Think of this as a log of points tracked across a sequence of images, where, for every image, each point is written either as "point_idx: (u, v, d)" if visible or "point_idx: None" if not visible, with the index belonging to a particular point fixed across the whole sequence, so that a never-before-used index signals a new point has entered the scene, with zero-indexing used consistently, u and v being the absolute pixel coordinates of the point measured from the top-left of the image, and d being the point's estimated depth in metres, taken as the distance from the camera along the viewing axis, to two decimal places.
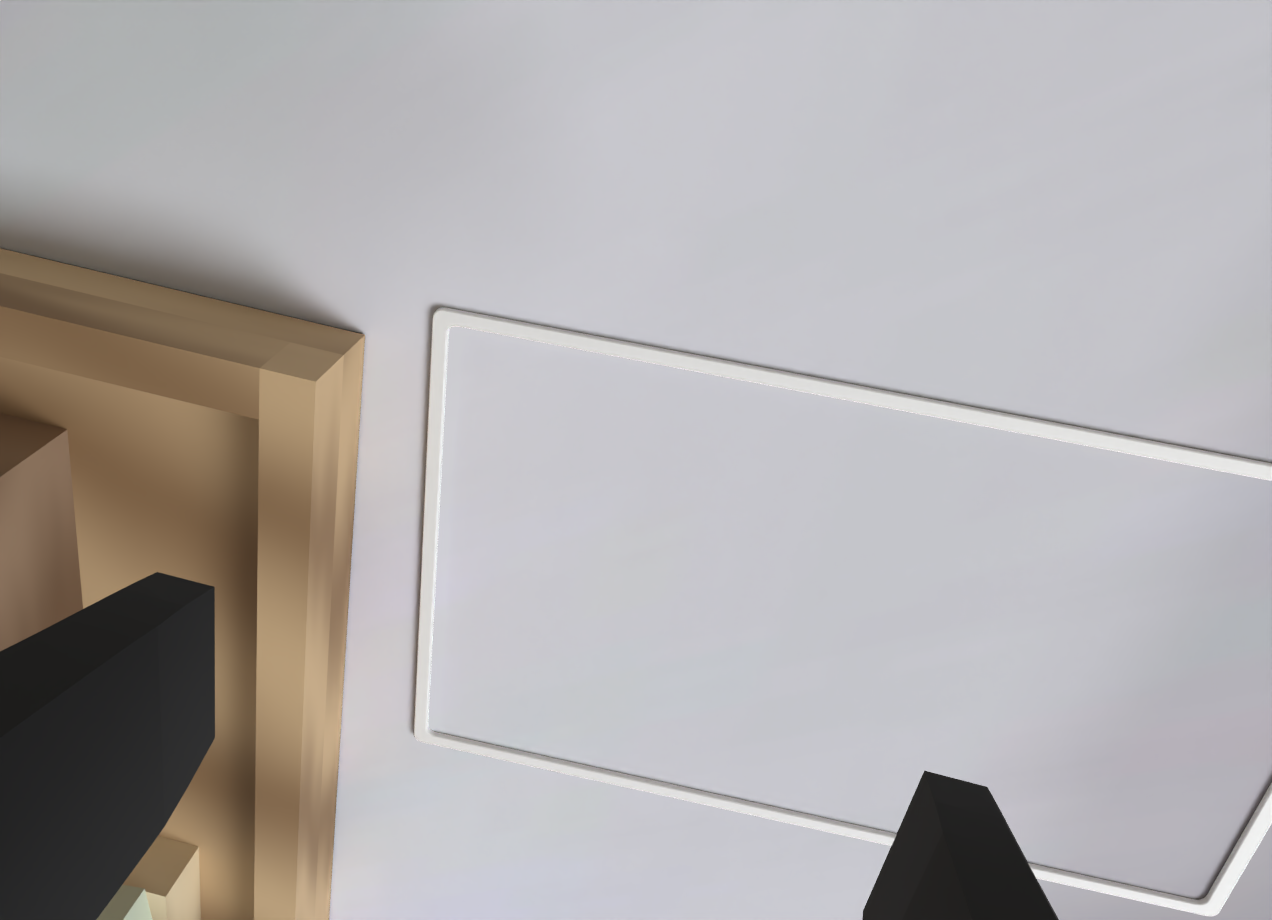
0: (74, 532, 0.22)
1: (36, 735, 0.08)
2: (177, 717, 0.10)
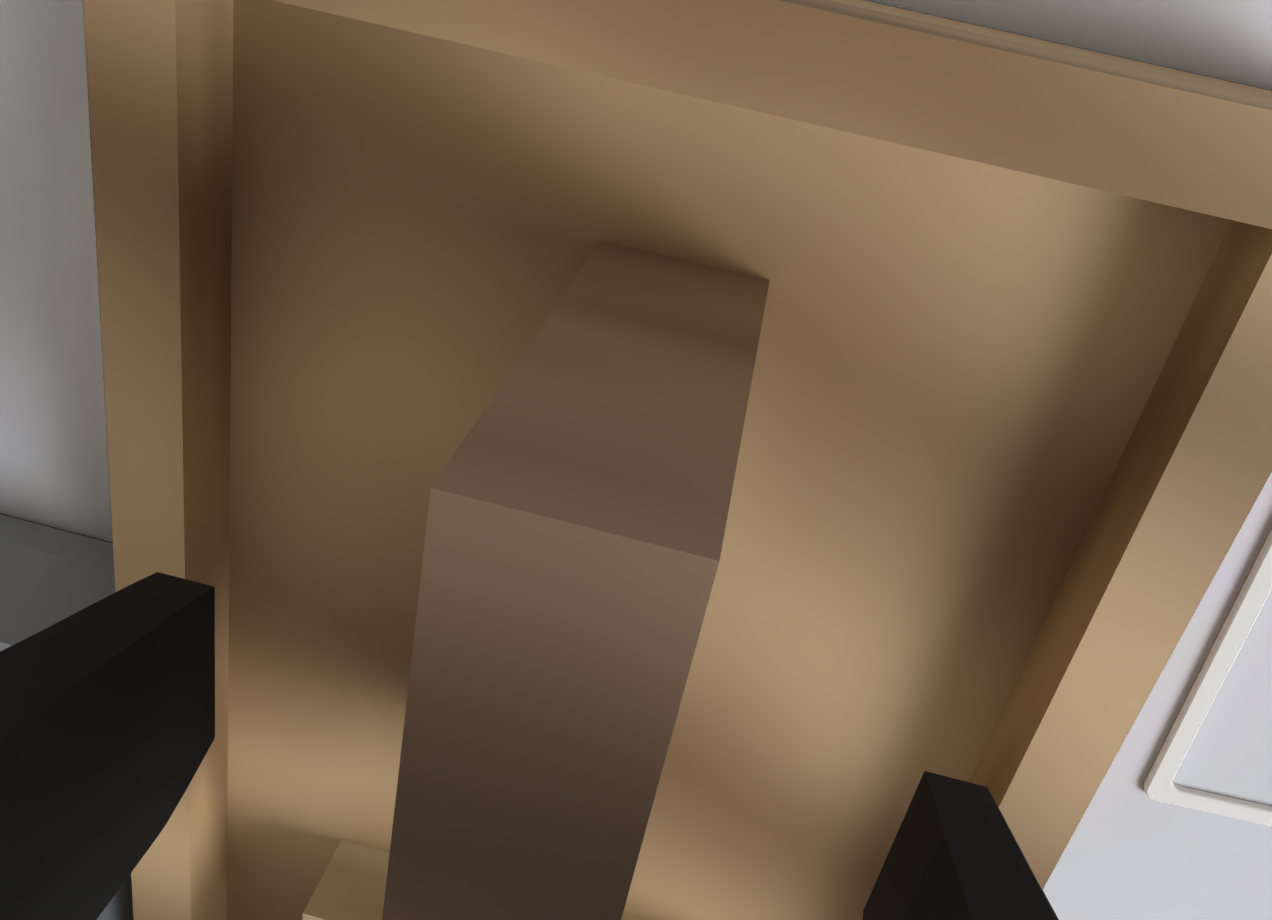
0: None
1: (38, 735, 0.08)
2: (177, 717, 0.10)
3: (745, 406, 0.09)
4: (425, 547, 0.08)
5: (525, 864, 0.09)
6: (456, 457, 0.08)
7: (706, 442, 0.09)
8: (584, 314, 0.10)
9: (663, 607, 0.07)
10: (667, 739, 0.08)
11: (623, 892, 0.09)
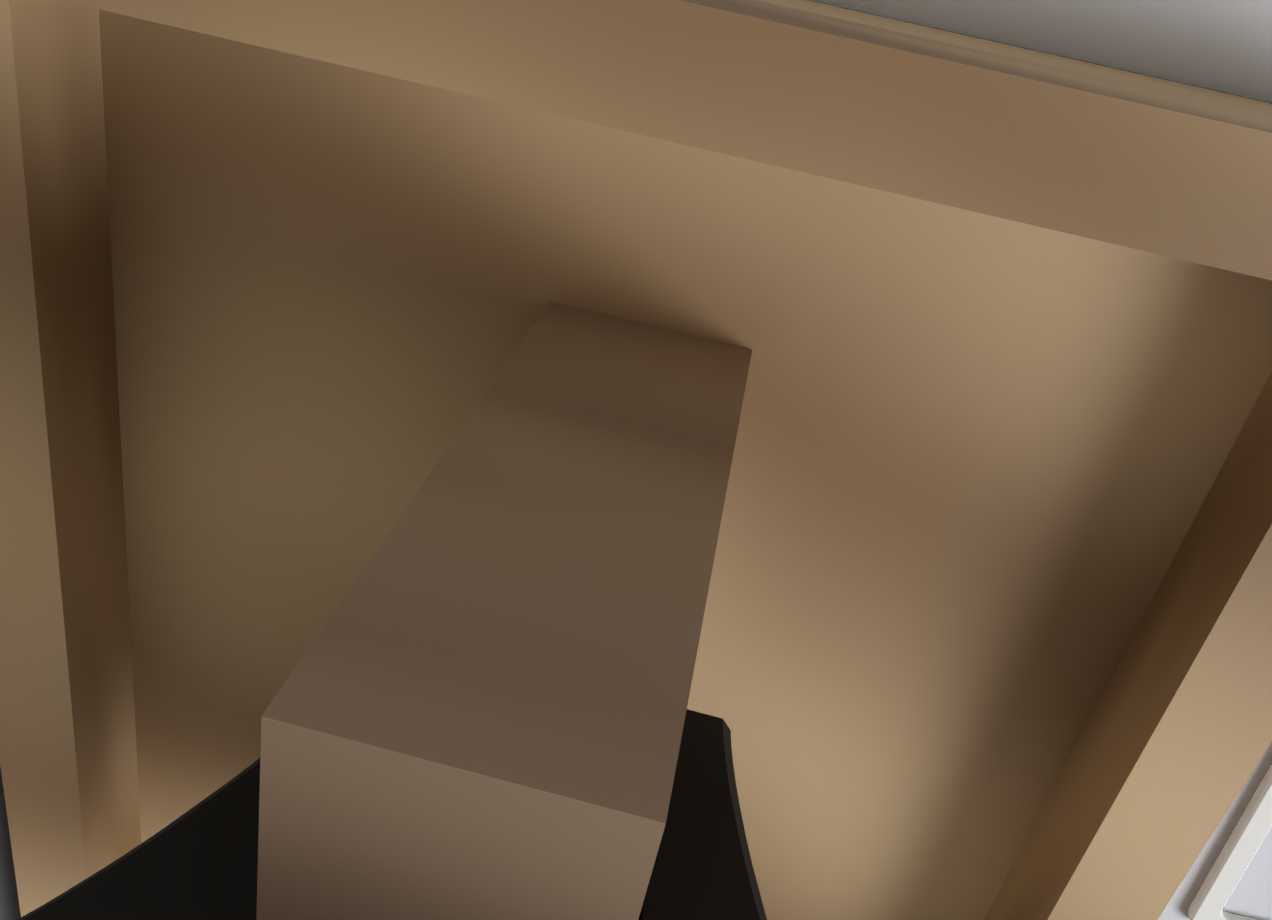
0: None
1: None
2: None
3: (714, 543, 0.07)
4: (263, 787, 0.05)
5: None
6: (309, 656, 0.06)
7: (659, 607, 0.07)
8: (515, 410, 0.08)
9: (591, 875, 0.05)
10: None
11: None
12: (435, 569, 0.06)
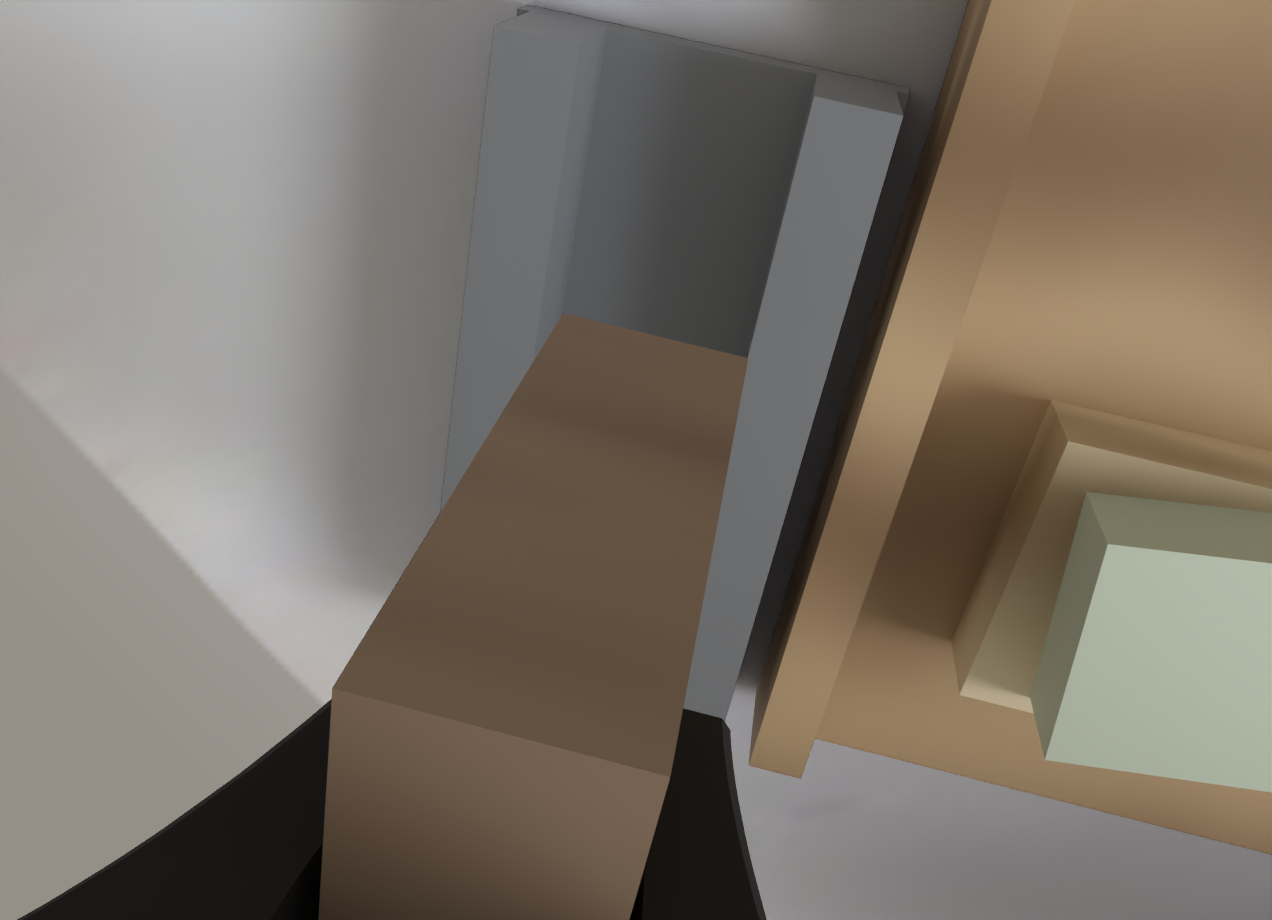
0: None
1: None
2: None
3: (712, 539, 0.08)
4: (331, 748, 0.07)
5: None
6: (368, 637, 0.07)
7: (664, 594, 0.08)
8: (535, 419, 0.09)
9: (607, 821, 0.06)
10: None
11: None
12: (470, 563, 0.07)
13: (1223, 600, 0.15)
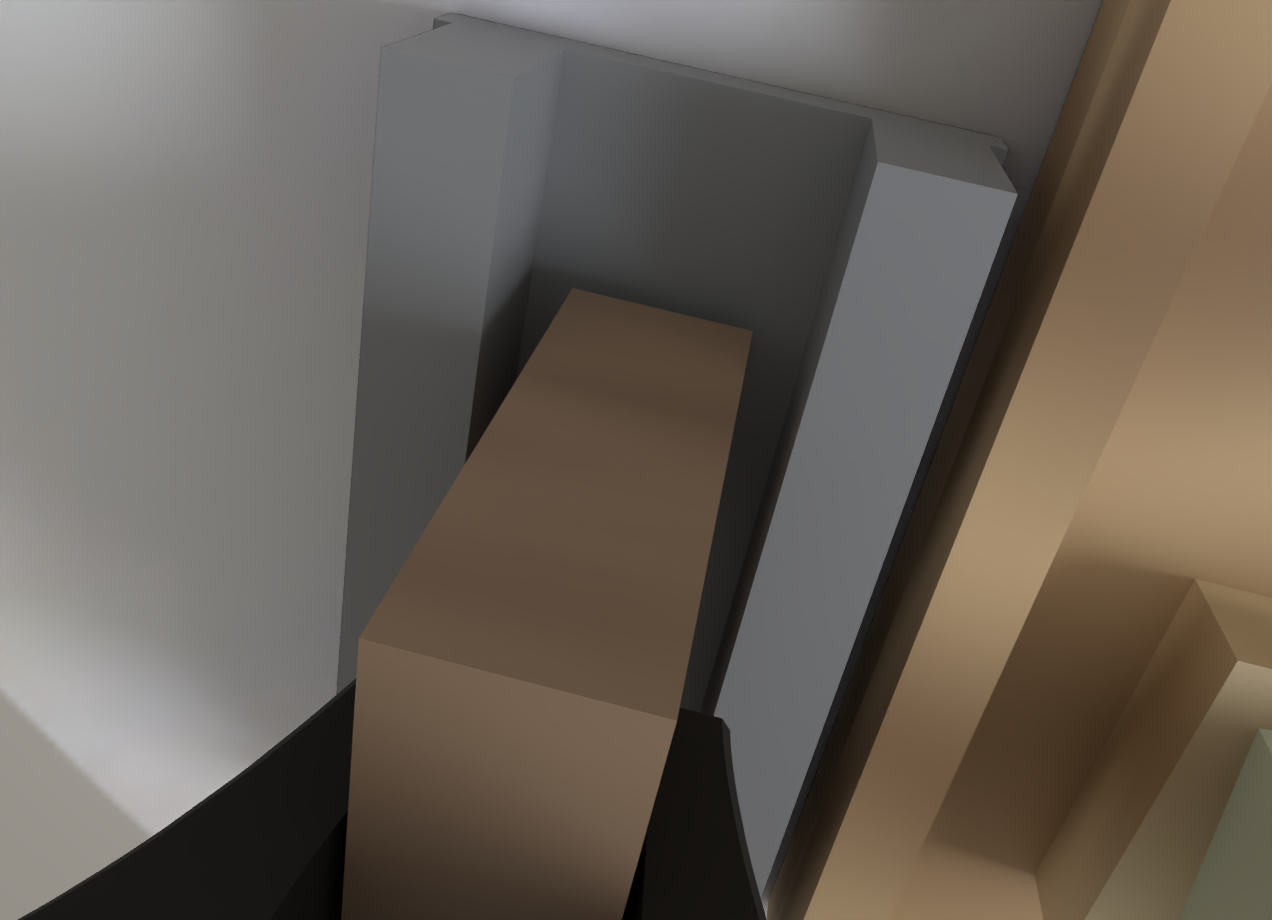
0: None
1: None
2: None
3: (717, 502, 0.09)
4: (357, 695, 0.07)
5: None
6: (390, 592, 0.07)
7: (672, 554, 0.08)
8: (546, 389, 0.10)
9: (618, 764, 0.07)
10: (626, 890, 0.07)
11: None
12: (487, 524, 0.08)
13: None
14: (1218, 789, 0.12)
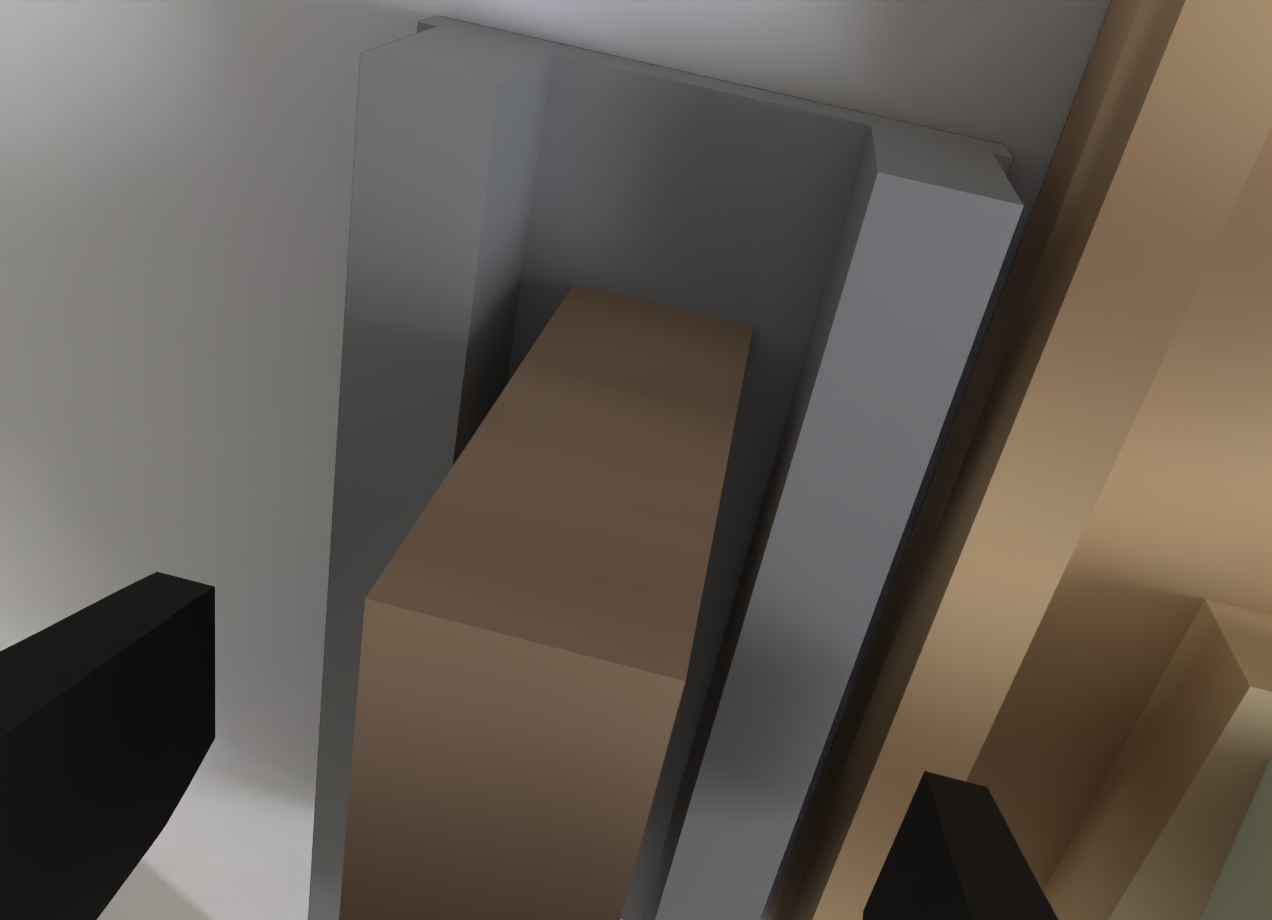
0: None
1: (36, 737, 0.08)
2: (177, 717, 0.10)
3: (721, 482, 0.09)
4: (361, 661, 0.07)
5: None
6: (395, 556, 0.07)
7: (677, 528, 0.08)
8: (550, 375, 0.10)
9: (624, 728, 0.07)
10: (632, 863, 0.07)
11: None
12: (492, 496, 0.08)
13: None
14: (1229, 817, 0.11)
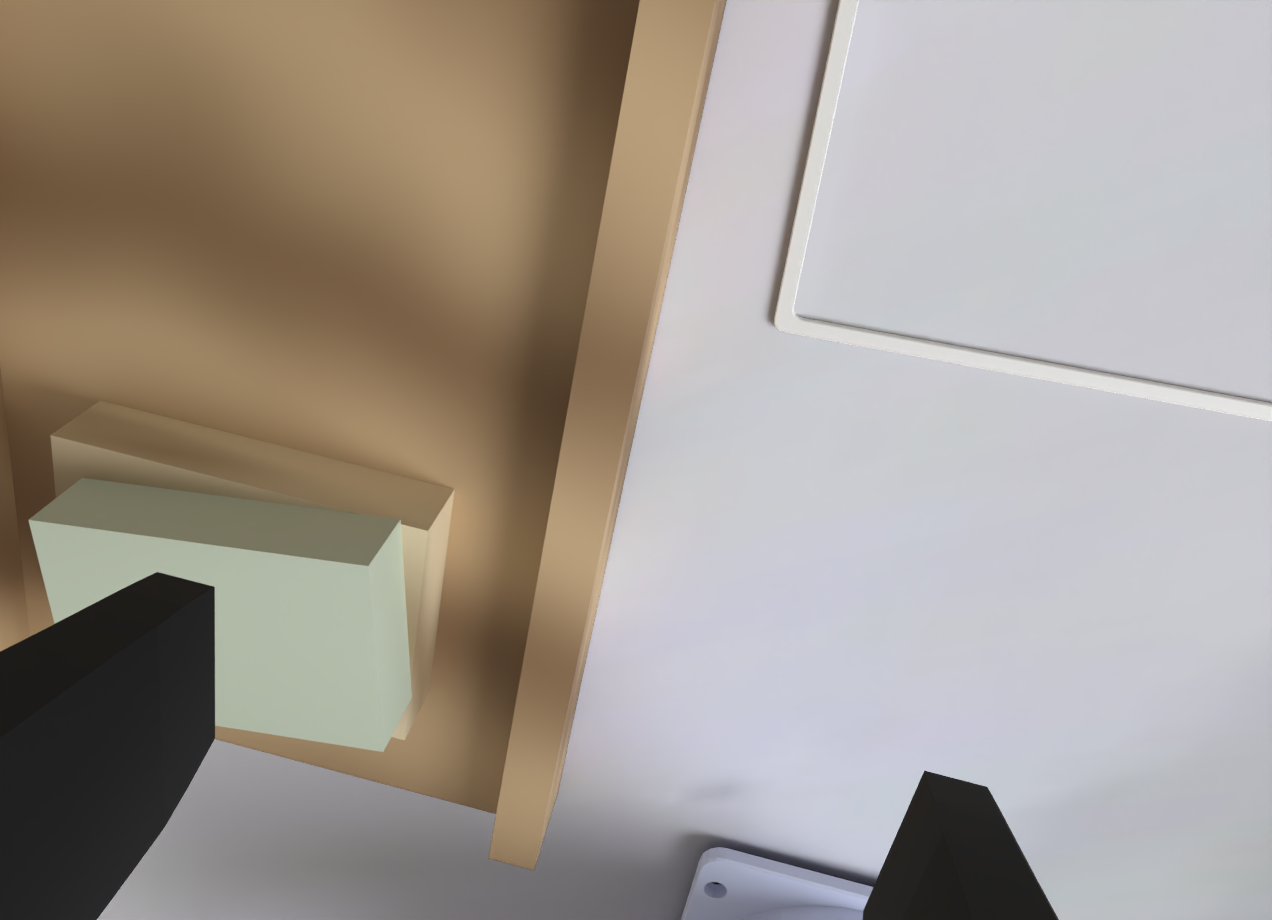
0: None
1: (36, 737, 0.08)
2: (177, 717, 0.10)
3: None
4: None
5: None
6: None
7: None
8: None
9: None
10: None
11: None
12: None
13: (130, 567, 0.18)
14: None
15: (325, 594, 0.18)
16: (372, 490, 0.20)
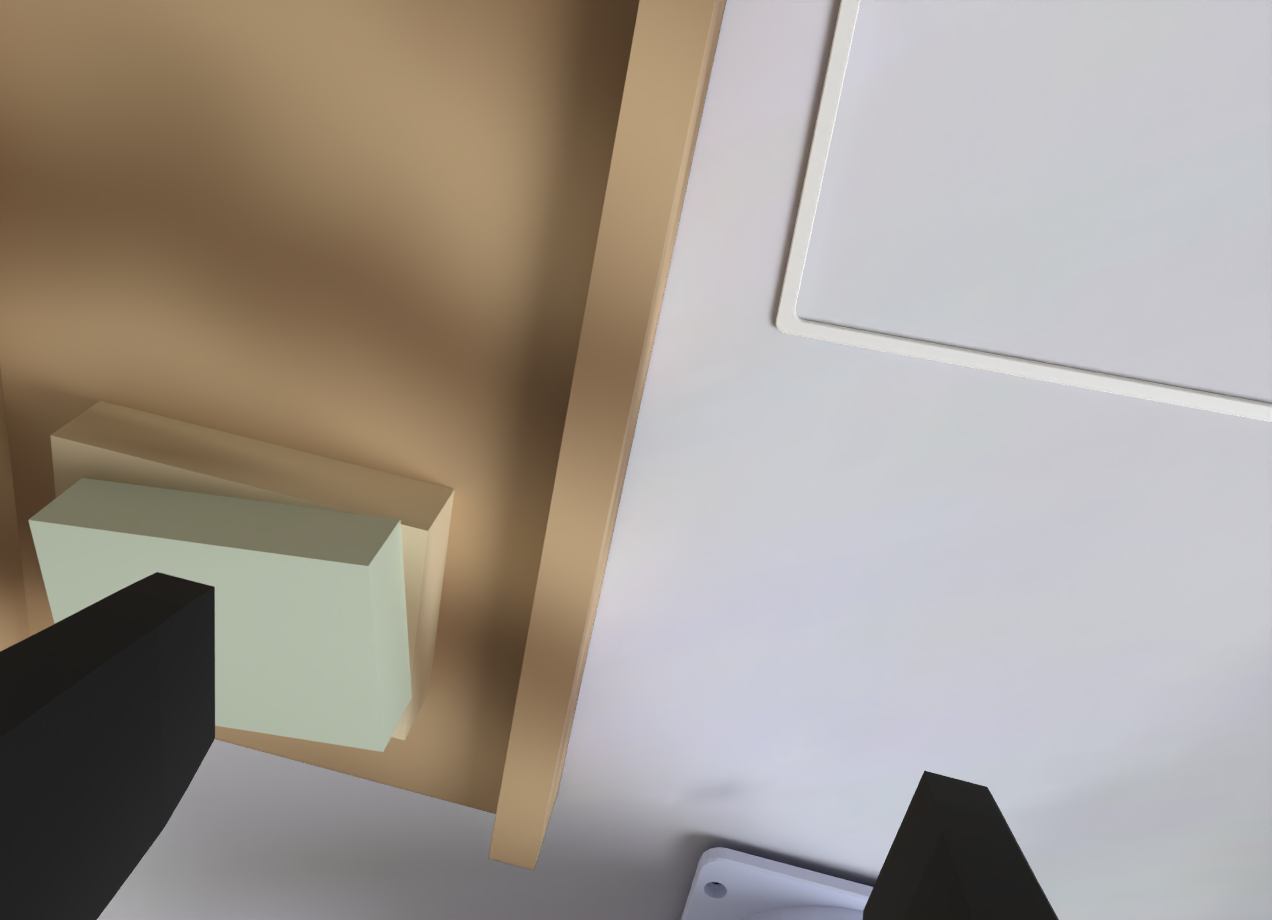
0: None
1: (36, 736, 0.08)
2: (177, 717, 0.10)
3: None
4: None
5: None
6: None
7: None
8: None
9: None
10: None
11: None
12: None
13: (130, 567, 0.18)
14: None
15: (325, 594, 0.18)
16: (372, 490, 0.20)
